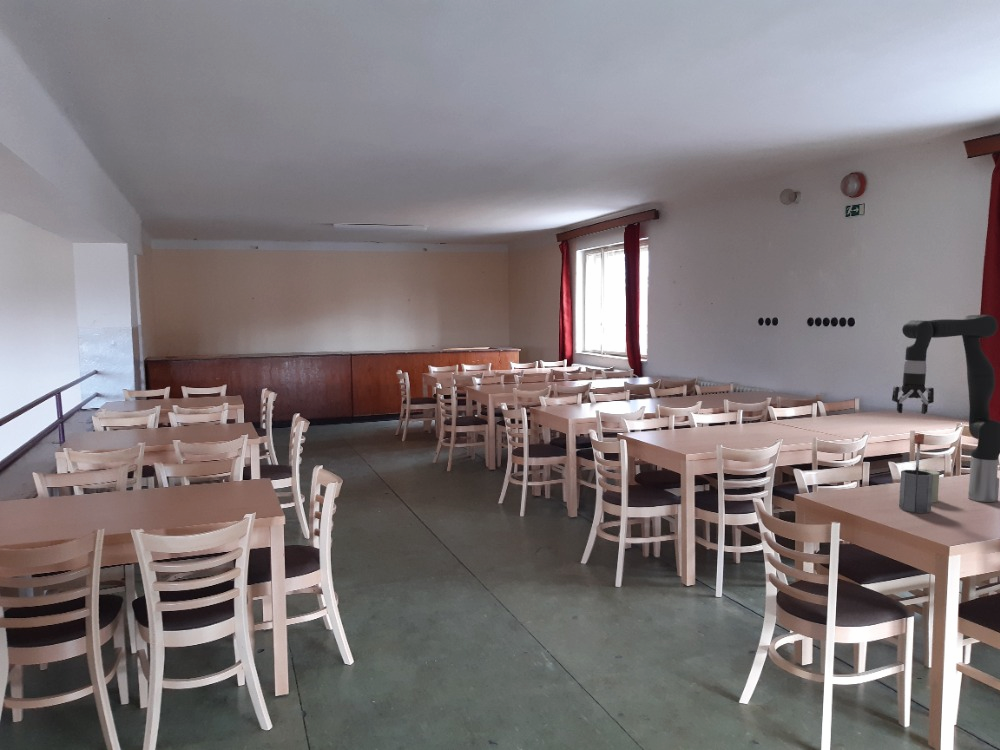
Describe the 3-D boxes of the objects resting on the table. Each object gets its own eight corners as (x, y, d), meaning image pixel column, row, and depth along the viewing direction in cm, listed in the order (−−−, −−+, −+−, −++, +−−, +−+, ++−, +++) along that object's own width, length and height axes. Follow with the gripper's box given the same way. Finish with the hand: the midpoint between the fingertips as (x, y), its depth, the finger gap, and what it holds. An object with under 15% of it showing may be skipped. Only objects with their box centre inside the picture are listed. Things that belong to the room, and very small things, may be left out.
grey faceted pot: (920, 505, 285) (922, 469, 283) (934, 513, 273) (937, 476, 271) (893, 504, 286) (895, 468, 285) (906, 512, 274) (908, 475, 272)
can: (936, 498, 296) (938, 469, 295) (939, 503, 287) (941, 473, 286) (910, 495, 300) (912, 467, 299) (913, 500, 291) (914, 471, 290)
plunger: (922, 482, 280) (925, 432, 278) (930, 487, 273) (933, 436, 271) (902, 481, 281) (905, 432, 279) (910, 486, 274) (913, 435, 272)
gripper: (930, 371, 283) (927, 412, 284) (891, 370, 285) (888, 411, 286) (938, 373, 275) (935, 415, 277) (898, 372, 277) (895, 414, 279)
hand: (911, 413), depth 282 cm, fingers open, 8 cm apart
